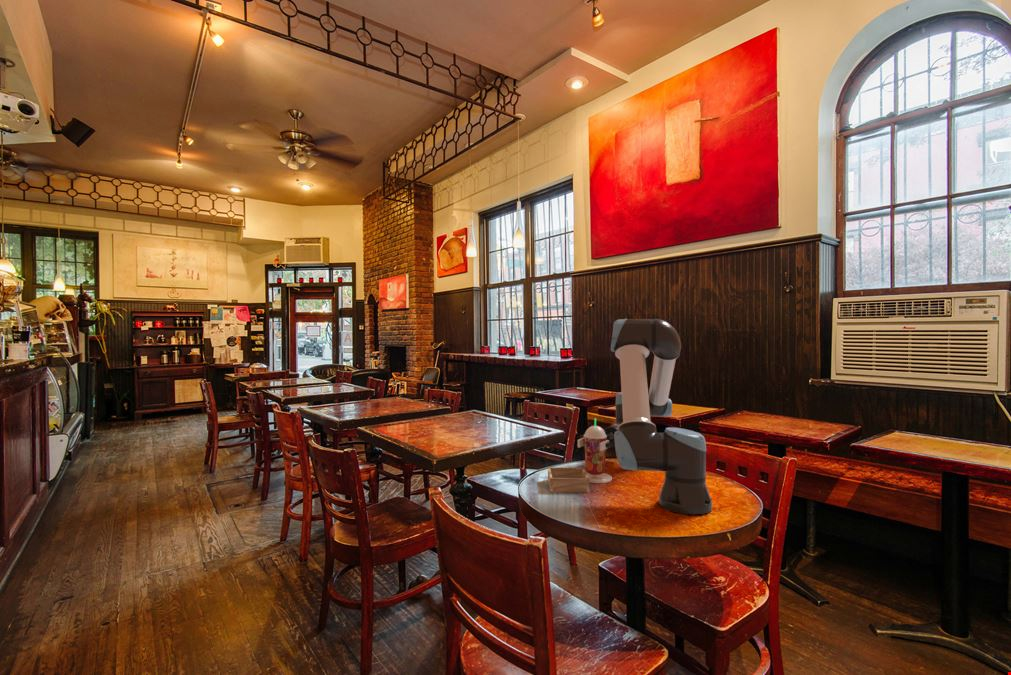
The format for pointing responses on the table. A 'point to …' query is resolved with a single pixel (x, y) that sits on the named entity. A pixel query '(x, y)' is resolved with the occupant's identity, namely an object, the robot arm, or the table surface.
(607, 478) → the pale round disc
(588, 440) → the smoothie
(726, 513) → the table surface
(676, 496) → the robot arm
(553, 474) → the crate
